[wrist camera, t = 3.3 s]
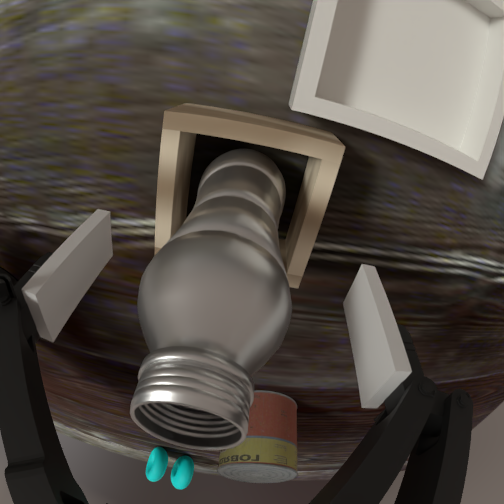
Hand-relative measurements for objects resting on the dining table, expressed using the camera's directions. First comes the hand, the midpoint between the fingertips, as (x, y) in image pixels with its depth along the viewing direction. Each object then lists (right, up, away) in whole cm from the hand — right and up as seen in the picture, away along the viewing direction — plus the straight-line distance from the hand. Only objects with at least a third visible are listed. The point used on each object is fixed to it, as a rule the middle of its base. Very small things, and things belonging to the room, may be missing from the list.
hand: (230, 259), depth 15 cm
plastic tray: (+13, +16, +2) cm, 21 cm away
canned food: (+3, -24, +29) cm, 38 cm away
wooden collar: (0, +6, +9) cm, 11 cm away
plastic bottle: (+1, +6, +10) cm, 11 cm away
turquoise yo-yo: (-19, -50, +47) cm, 71 cm away
